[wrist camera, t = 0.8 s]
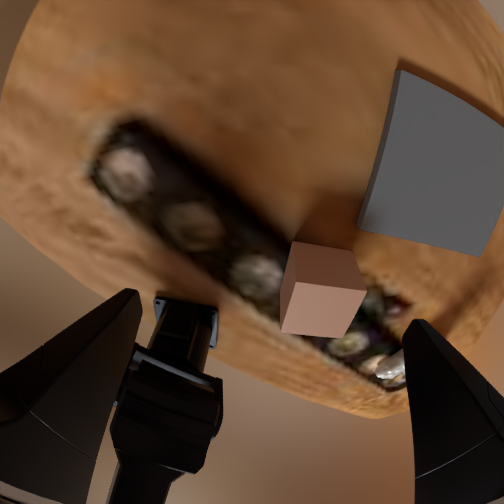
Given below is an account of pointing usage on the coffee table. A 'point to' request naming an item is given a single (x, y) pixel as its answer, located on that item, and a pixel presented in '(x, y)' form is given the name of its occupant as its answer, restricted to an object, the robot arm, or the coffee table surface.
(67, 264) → the coffee table surface
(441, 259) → the coffee table surface
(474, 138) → the charcoal mat
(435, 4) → the coffee table surface
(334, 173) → the coffee table surface
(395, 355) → the white creature statuette
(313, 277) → the terracotta cube
